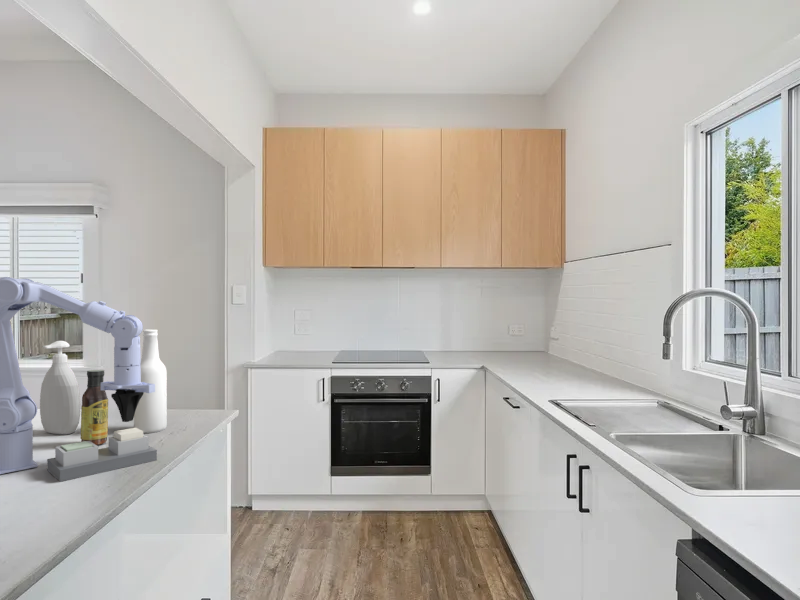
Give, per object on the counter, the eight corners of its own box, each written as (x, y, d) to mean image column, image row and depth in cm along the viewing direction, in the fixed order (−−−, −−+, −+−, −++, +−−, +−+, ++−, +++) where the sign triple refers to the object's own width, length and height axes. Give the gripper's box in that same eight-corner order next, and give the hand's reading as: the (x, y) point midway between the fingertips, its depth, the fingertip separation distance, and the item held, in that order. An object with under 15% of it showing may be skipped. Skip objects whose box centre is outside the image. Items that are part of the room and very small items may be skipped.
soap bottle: (26, 434, 146) (25, 341, 146) (53, 427, 154) (53, 339, 154) (62, 439, 141) (61, 342, 141) (88, 432, 149) (88, 340, 149)
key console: (47, 469, 116) (47, 445, 116) (139, 450, 131) (139, 429, 131) (60, 481, 109) (60, 456, 109) (156, 460, 123) (156, 437, 123)
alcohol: (171, 429, 152) (171, 329, 151) (140, 435, 145) (140, 331, 145) (159, 424, 158) (159, 328, 157) (129, 430, 151) (129, 329, 151)
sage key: (61, 452, 116) (61, 445, 116) (85, 447, 119) (85, 440, 119) (67, 457, 112) (67, 449, 112) (92, 452, 116) (92, 445, 116)
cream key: (113, 437, 124) (113, 431, 124) (135, 433, 127) (135, 427, 127) (121, 441, 120) (121, 435, 120) (143, 437, 124) (143, 431, 124)
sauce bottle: (95, 448, 133) (94, 372, 133) (74, 446, 134) (74, 371, 134) (113, 441, 140) (113, 369, 139) (94, 439, 141) (94, 368, 141)
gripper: (89, 366, 122) (90, 422, 122) (139, 368, 118) (139, 426, 118) (113, 362, 128) (114, 416, 128) (161, 364, 124) (161, 419, 124)
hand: (127, 420), depth 123 cm, fingers closed
